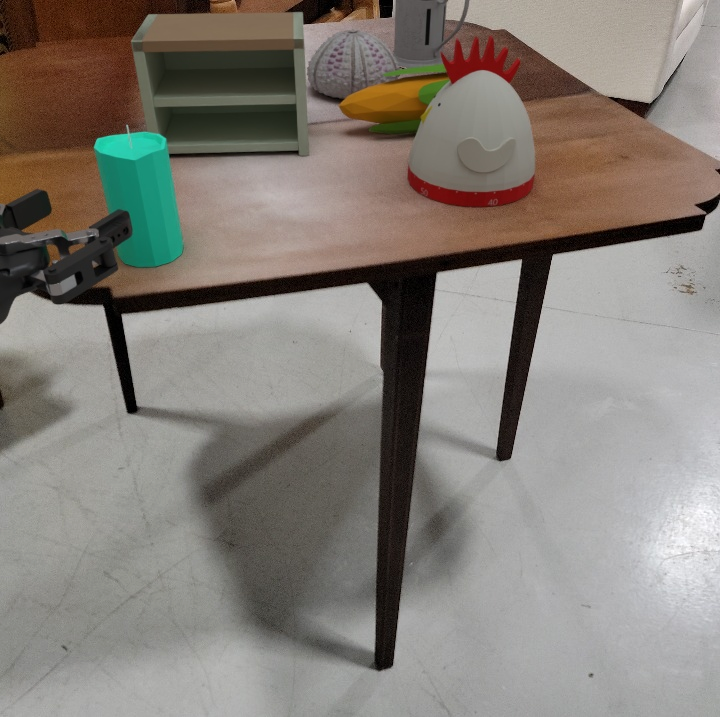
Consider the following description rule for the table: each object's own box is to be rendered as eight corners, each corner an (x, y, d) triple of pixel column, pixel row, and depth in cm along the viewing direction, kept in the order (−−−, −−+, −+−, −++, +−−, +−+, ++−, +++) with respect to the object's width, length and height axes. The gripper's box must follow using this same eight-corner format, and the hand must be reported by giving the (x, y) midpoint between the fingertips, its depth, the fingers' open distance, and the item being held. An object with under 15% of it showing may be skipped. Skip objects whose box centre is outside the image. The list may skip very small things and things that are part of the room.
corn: (505, 67, 89) (346, 81, 84) (499, 130, 93) (348, 146, 89) (479, 55, 95) (330, 67, 90) (475, 115, 99) (333, 129, 95)
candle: (107, 264, 67) (76, 135, 59) (134, 233, 71) (109, 110, 64) (169, 270, 66) (146, 141, 58) (193, 239, 70) (174, 115, 63)
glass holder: (419, 51, 122) (425, -50, 113) (481, 71, 114) (492, -37, 104) (379, 60, 118) (381, -44, 109) (440, 82, 109) (448, -30, 100)
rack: (152, 159, 86) (130, 40, 78) (165, 123, 95) (148, 14, 87) (309, 155, 87) (304, 38, 79) (307, 120, 96) (302, 11, 88)
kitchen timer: (400, 157, 87) (405, 21, 77) (514, 152, 88) (532, 18, 78) (418, 209, 76) (427, 58, 66) (548, 204, 77) (574, 54, 67)
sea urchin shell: (348, 112, 99) (348, 50, 94) (287, 88, 107) (284, 29, 102) (417, 91, 106) (420, 32, 101) (356, 70, 114) (356, 15, 109)
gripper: (-135, 328, 53) (33, 233, 64) (10, 383, 48) (164, 269, 60) (-182, 236, 48) (9, 150, 60) (-27, 286, 43) (148, 183, 55)
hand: (86, 210), depth 60 cm, fingers open, 8 cm apart
